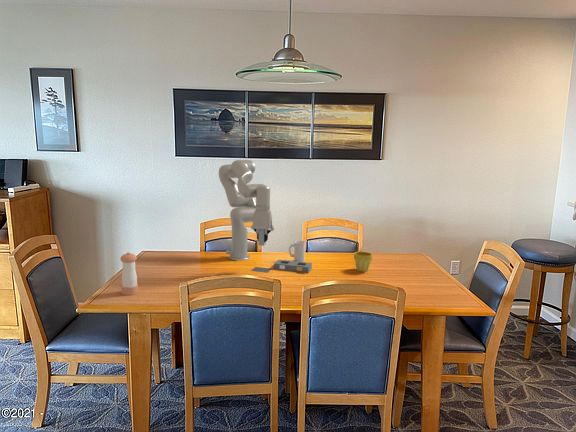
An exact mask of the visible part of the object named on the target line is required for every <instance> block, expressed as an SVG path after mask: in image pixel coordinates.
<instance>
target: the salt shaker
mask: <svg viewBox="0 0 576 432" xmlns="http://www.w3.org/2000/svg"><path fill="white" fill-rule="evenodd" d="M136 261H137V256H136V254H134V253H131V252H126V253H124V254H122V255H121V256H120V262H122V264H121V265H122V272H121V273H122V274H121V286H120V289H121V291H120V292H121V295H123V296H132V295H136V294H138V293H139V284H138V275H137V272H136Z"/></svg>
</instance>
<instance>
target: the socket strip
mask: <svg viewBox="0 0 576 432" xmlns="http://www.w3.org/2000/svg"><path fill="white" fill-rule="evenodd" d="M312 268H313V263H312V262H306V261H305V262H298V261H294V260H287V259H277V260H276V261H275V262H274V263H273V270H281V271H288V272H297V273H301V272H302V274H309V273H310V272H311V270H312Z"/></svg>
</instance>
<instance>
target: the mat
mask: <svg viewBox="0 0 576 432" xmlns="http://www.w3.org/2000/svg"><path fill="white" fill-rule="evenodd" d="M271 270H272V268H271V267H269V268H268V267H261V266H254V268H252V269H251V270H250V272H257V273H269V272H270V271H271Z"/></svg>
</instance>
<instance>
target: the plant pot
mask: <svg viewBox="0 0 576 432" xmlns="http://www.w3.org/2000/svg"><path fill="white" fill-rule="evenodd" d="M353 260H354V262H355V268H356V269H355V270H356V271H357V272H362V273H363V272H365V273H366V272H368V271H369V268H370V265H371V262H372V260H373V254H372V253H371V252H369V251H361V250H360V251H354V253H353Z"/></svg>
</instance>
